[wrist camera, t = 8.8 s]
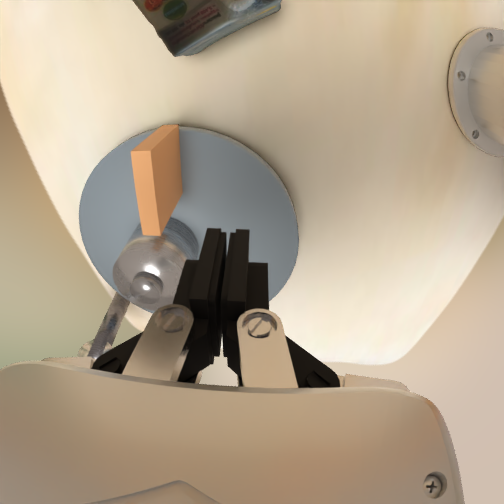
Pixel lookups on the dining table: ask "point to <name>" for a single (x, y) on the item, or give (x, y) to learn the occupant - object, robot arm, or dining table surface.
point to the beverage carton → (201, 20)
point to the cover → (154, 264)
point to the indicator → (106, 329)
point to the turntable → (188, 198)
